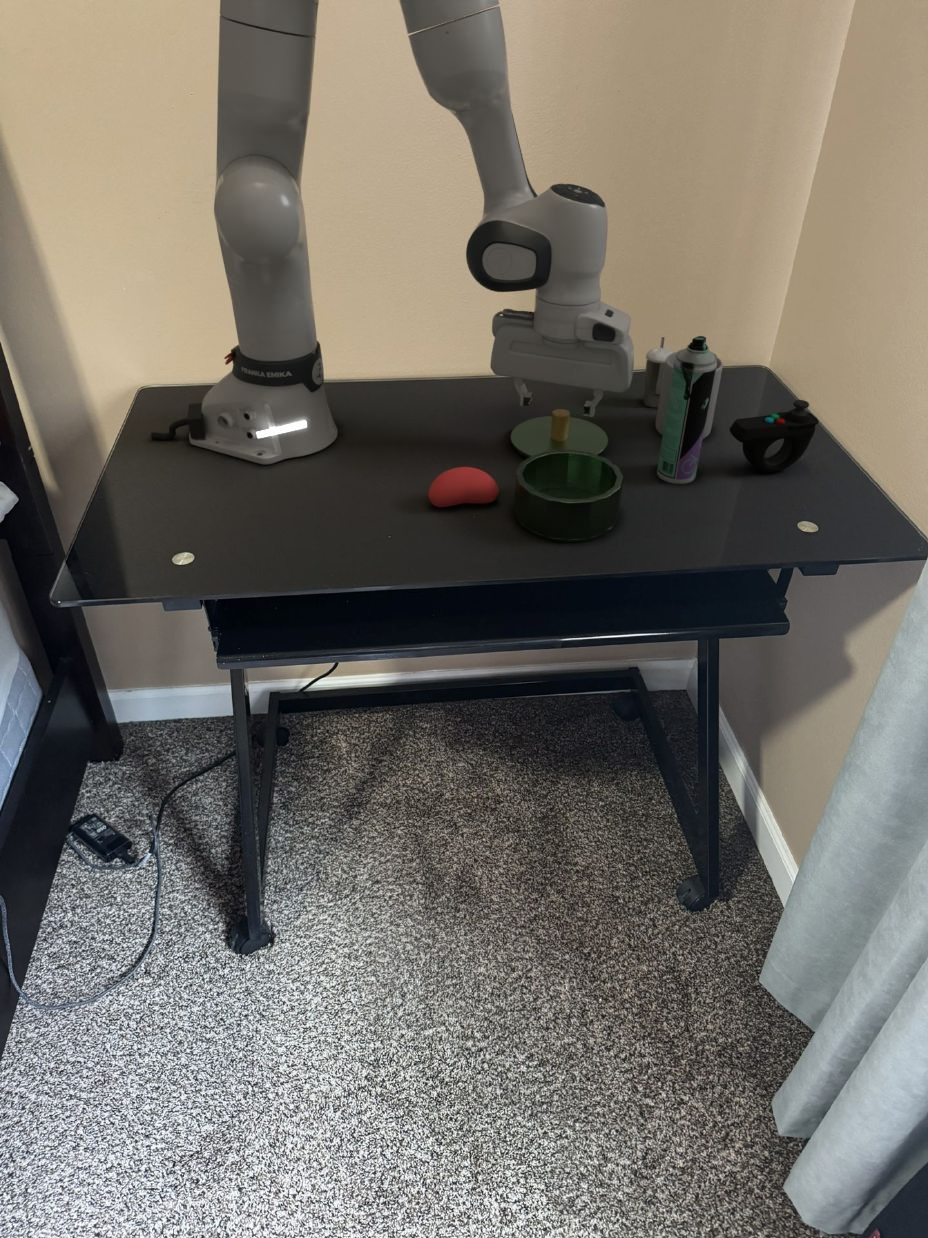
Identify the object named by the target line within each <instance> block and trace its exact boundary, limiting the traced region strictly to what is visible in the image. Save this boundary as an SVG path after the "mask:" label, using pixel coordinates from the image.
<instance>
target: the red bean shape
mask: <svg viewBox="0 0 928 1238" xmlns="http://www.w3.org/2000/svg"><path fill="white" fill-rule="evenodd" d="M499 491H500V490H499V487H498V484H497V482H496V481H495V479H494V478H493V477H492V476H491V475H490V474H488V473H487V472H486V471H484V470H481V469H479V468H476V467H471V466H459V467H454V468H451V469H448V470H445V471H443V472H442V473H440V474H439V475H438V476H437V477H436V478H435V479H434V480H433V481H432V483H431V484H430V487H429V489H428V495H427V497H428V500H429V502H430V503H431V504H432V505H433V506H435V507H437V508H447V507H453V506H457V505H461V504H481V505H482V504H484V505H485V504H490V503H493V502H494V501H495V500H496V499H497V498H498V495H499Z"/></svg>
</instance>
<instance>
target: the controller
mask: <svg viewBox="0 0 928 1238" xmlns="http://www.w3.org/2000/svg"><path fill="white" fill-rule="evenodd" d="M792 404H793V407H794V408H792V409H790V410H788V411H782V412H781V411H780V412H777V413H772V414H768V415H761V416H753V417H744V418H737V419H735V420H734V422H733V423H732V424H731V426H730V427H729V433H730V435H732V437H733V438H734V439H736V440H737V441H738V442H739V443H742V452H743V455H744V457H745V459H746V461H747V462H748V463H749V464H750V465H751V466H752V467H753V468H755V469H756V470H758V471H760V472H764V473H776V472H780V471H784V470H786V469H787V468H789V467H791V466H793V465H794V464H795V463H796V462H798V461H799V459H800V458H801V457H802V456H803V455H804V453H805V452H806V450H807V449H808V447H809V445H810V443H811V441H812V439H813V437H814V434H815V432H816V425H818V424H819V423H820V421H819V419H818V418H817V416H815V415H814V414H812V413H811V412H809V411H807V410H806V409H808V408H809V406H810V403H809V402H808V401H806V400H804V399H796V400H794V401H793V403H792ZM780 440H783V443H782V445H781V447H780V449H779V450H778V451H777V452H775V454H773V455H771V456H769V457H765V455H766V452H767V450H768V449H769V448H770V446H771V445H773V444H774V443H775V442H776V441H777V442H778V441H780Z"/></svg>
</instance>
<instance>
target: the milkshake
mask: <svg viewBox="0 0 928 1238" xmlns="http://www.w3.org/2000/svg"><path fill="white" fill-rule="evenodd" d="M664 345H665V336H661V340H660V347H654V348H651V349H649V350H648V351H647V352H646V354H645V376H644V377H645V378H644V379H645V380H644V381H645V382H644V393H643V394H644V395H643V404H644V405H645V406H646V407H650V408H654V409H655V408H658V405H659V398H660V392H661V385H662V378H663V372H664V365H665V360H666V358H667V356H668V355H670V354H672V353H675V352H674V351H673V350H672V349H670V348H664Z"/></svg>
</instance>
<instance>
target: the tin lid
mask: <svg viewBox="0 0 928 1238" xmlns="http://www.w3.org/2000/svg"><path fill="white" fill-rule="evenodd" d="M510 444H511V446H512V448H513V449H514V450H515V451H516V452H517V453H518V454H520V455H521V456H523V457H525V458H526V459H528V458H529V457H531V456H532V455H536V454H539V453H543V452H547V451H553V450H576V451H583V452H590V453H592V454H595V455H598V456H601V455H603V454H604V453H605V452H606V450H607V448H608V444H609V437H608V435H607V434H606V431H605V430H603V429H602V428H601V427H600V426H598V425H597V424H595V423H593V422H590V421H588V420H585V419H582V418H579V417H573V416H571V413H570V411H569V410H567V409H563V408H556V409H554V410H553V411H552V412H551V415H548V416H545V415H544V416H538V417H535V418H533V417H532V418H531V419H528V420H525V421H523V422H521V423H519V424H517V425H516V426H515V427H514V428H513V429H512V430H511V433H510Z"/></svg>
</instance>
